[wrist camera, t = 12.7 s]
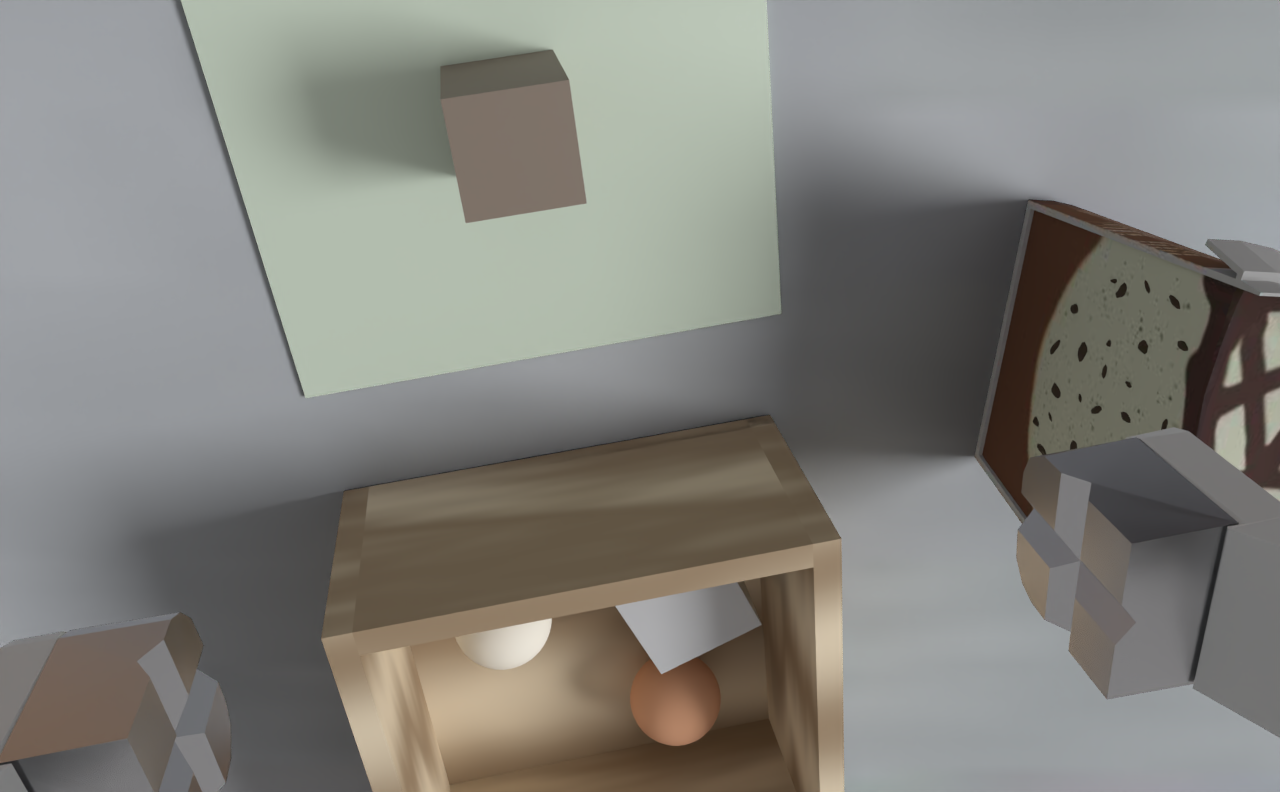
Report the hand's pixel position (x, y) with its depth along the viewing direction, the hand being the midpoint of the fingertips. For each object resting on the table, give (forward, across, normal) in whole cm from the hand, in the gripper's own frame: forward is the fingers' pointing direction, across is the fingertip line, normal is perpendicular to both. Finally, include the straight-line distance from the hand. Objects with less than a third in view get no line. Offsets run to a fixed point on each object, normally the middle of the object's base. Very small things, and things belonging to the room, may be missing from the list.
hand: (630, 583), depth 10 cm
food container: (+21, -18, +10) cm, 29 cm away
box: (+21, 0, +18) cm, 27 cm away
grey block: (+20, -3, +15) cm, 25 cm away
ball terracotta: (+20, -2, +20) cm, 29 cm away
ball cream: (+20, +3, +16) cm, 26 cm away
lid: (+21, 0, 0) cm, 21 cm away
